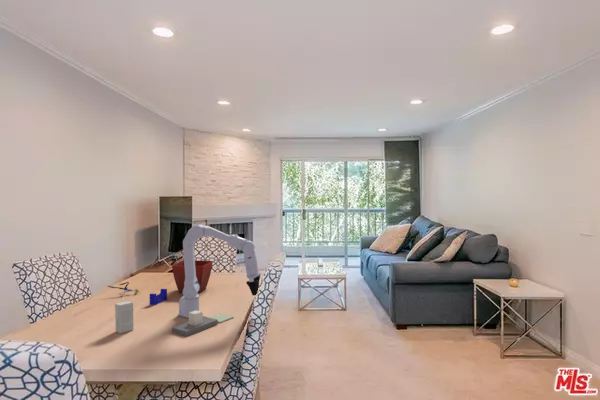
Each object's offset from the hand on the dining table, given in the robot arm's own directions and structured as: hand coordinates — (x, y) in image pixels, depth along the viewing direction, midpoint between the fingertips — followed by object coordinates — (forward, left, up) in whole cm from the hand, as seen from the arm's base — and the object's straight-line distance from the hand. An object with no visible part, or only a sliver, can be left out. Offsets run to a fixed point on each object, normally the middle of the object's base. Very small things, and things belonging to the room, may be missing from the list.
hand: (255, 293), depth 189 cm
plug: (-10, -29, -11) cm, 33 cm away
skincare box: (-33, -48, -11) cm, 59 cm away
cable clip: (-59, -12, -11) cm, 61 cm away
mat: (-10, -14, -11) cm, 20 cm away
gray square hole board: (-10, -29, -11) cm, 33 cm away
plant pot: (-62, +16, -11) cm, 65 cm away
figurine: (-86, -13, -11) cm, 88 cm away
